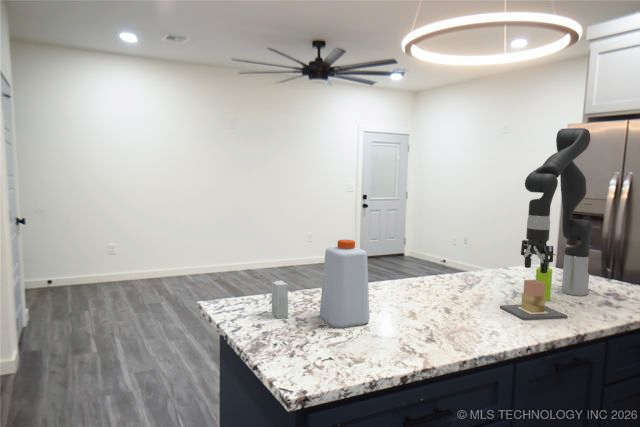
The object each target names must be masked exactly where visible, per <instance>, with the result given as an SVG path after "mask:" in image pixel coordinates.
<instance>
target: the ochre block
mask: <svg viewBox="0 0 640 427" xmlns="http://www.w3.org/2000/svg"><path fill="white" fill-rule="evenodd" d="M520 305H521V308H522V309H524V310H526V311H529V312H531V313H536V312H544V308H545V306H546V301H545V296H539V297H532V296H530V295H527V294H525V293H524V292H522V293H521V304H520Z"/></svg>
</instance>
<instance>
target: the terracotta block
mask: <svg viewBox="0 0 640 427" xmlns="http://www.w3.org/2000/svg"><path fill="white" fill-rule="evenodd" d="M523 293H525V294H527V295H530V296H532V297H539V296H544V295H545V283H544V282H541V281H538V280H536V279H524V280H523Z"/></svg>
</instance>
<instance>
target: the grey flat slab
mask: <svg viewBox="0 0 640 427" xmlns="http://www.w3.org/2000/svg"><path fill="white" fill-rule="evenodd" d="M521 305H522V304H502V305H499V308H500V309H501V310H503V311H505V312H507V313H508V314H510V313H511V314H510V315H512V314H513V316H514V315H515V316H514V317H516V316H517V318H519V319H521V320H522V321H538V320H540V321H541V320H557V319H558V320H559V319H560V320H561V319H568V315H567V314H565V313H562V312H560V311H558V310H556V309H553V308H551V307H550V306H546V305H545V308H544V312H536V313H531V312H529V311H526V310H524V309H522V308H521Z"/></svg>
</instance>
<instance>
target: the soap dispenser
mask: <svg viewBox="0 0 640 427" xmlns="http://www.w3.org/2000/svg"><path fill="white" fill-rule="evenodd" d="M543 254H544V253H543ZM553 256H554V257H555V256H557V254H556V253H553ZM543 259H544V260H545V258H543ZM539 260H540V259H539ZM539 263H540V264H539V267H536V268H535V270H536V271H535V280H538V281H541V282H544V283H545V295H544V296H545V302H550V301H551V295H552V294H551V293H552V281H553V280H552V278H553V269H552V268H550V263H548V270H547V273H541V272H540V269H541V260H540V262H539Z"/></svg>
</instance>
